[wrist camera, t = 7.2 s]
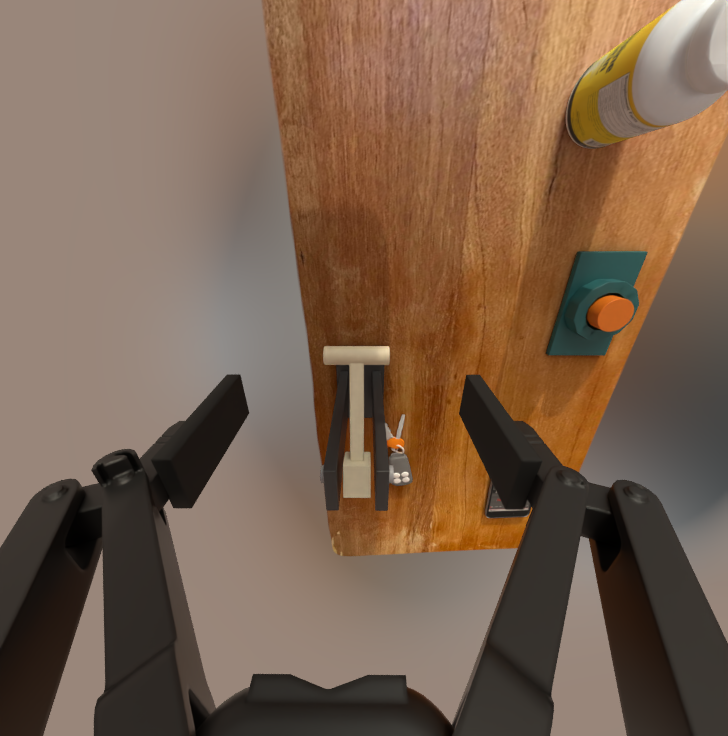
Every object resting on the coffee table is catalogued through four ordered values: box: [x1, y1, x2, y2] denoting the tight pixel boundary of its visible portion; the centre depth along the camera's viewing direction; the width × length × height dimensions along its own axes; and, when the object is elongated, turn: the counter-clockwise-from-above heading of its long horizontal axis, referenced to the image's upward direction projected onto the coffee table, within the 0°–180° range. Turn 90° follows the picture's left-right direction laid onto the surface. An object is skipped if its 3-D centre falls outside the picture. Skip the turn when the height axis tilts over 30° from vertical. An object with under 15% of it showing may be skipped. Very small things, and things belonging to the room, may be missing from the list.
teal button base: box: [546, 251, 647, 355], centre depth 32 cm, size 12×7×2 cm, turn 0°
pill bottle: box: [566, 0, 728, 149], centre depth 20 cm, size 6×6×12 cm
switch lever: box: [323, 346, 390, 498], centre depth 23 cm, size 12×5×2 cm, turn 0°
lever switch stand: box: [320, 365, 394, 511], centre depth 30 cm, size 10×6×18 cm, turn 0°
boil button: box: [587, 295, 634, 332], centre depth 31 cm, size 4×4×2 cm
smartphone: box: [485, 481, 531, 518], centre depth 46 cm, size 7×1×15 cm
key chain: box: [385, 415, 413, 486], centre depth 43 cm, size 13×4×2 cm, turn 10°
